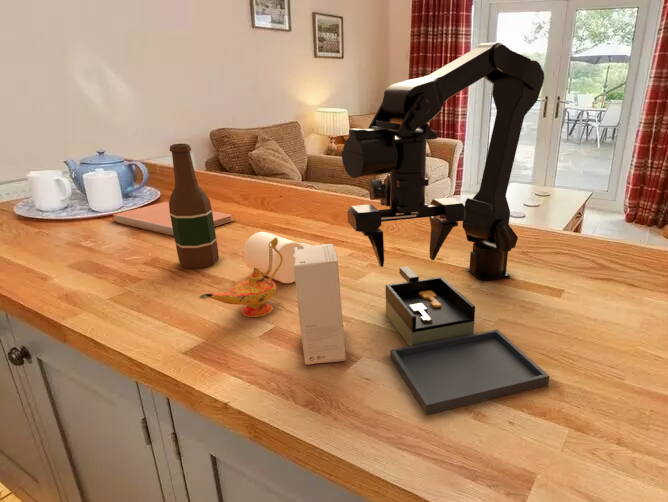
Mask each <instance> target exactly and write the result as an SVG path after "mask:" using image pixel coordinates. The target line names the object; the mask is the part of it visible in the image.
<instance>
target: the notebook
mask: <svg viewBox="0 0 668 502" xmlns="http://www.w3.org/2000/svg"><path fill="white" fill-rule="evenodd" d="M212 214H213V221H214V227H218V226H221V225H224V224H227V223H230V222H233V221H235V219H233V218H232V217H234V214H230V213H226V212H219V211H214V210H212ZM112 216H113V221H115V222H116V223H118V224H123V225H126V226H131V227H135V228H138V229H139V228H140V229H143V230H147V231H152V232H155V233H160V234H164V235H167V236H173V237H174V233H173V227H172V222H171V217H170V210H169V201H164V202H159V203H155V204H151V205H146V206H143V207H138V208H135V209H131V210H127V211H123V212H119V213H113V214H112Z"/></svg>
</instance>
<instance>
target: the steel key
mask: <svg viewBox="0 0 668 502" xmlns="http://www.w3.org/2000/svg"><path fill="white" fill-rule="evenodd" d="M409 308H410V309H411V310H412V311H413V312H414V313H419V314H420V315H421V316H422V317H420V319H421V320H422V321H423V322H427V323H428V322H432V319H431V318H430V317H429V315H428V314H427V313H426V312H425V311H427V308H426V307H425V306H424V305H423V304H422V303H418V304H412V305H409Z"/></svg>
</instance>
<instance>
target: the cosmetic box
mask: <svg viewBox="0 0 668 502" xmlns="http://www.w3.org/2000/svg"><path fill="white" fill-rule="evenodd" d="M293 257H294V274H295V282H294V283H295V292H296V293H295V295H296V301H297V303H296V304H297V311H298V321H299V330H300V337H301V344H302V351H303V359H304V365H315V364H323V363H324V364H325V363H337V362H345V361H346V359H347V355H346V343H345V334H344V319H343V309H342V308H343V307H342V297H341V282H340V272H339V259H338V255H337V251H336V248H335V245H334V244H333V243H323V244H316V245H315V244H314V245H310V246H303V247H295V248H294V255H293Z"/></svg>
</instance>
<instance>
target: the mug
mask: <svg viewBox="0 0 668 502" xmlns="http://www.w3.org/2000/svg"><path fill="white" fill-rule="evenodd" d="M276 237H277V239H278V244H277V246H276V247H275V248H276V249H277V250H278V251H279V252H280V253H281V255H282V258H283V261H282V264H281V266H280V268H279V269H278V271H277V272H276V274H275V275H274V277H273V278H272V280H275V281H278V282H279V283H283V284H291V283H292V284H293V283H295V274H294V257H293V255H294V248H295V247H303V246H311V245H310V244H308V243H303V242H297V241H294V240H292V239H291V240H290V239H287V238H285V237H283V236H279V235H276V234H274V233H270V232H267V231H257V232H255V233H253V234H252V235H251V236H250V237H249V238H248V239H247V240H246V242H245V243H244V246H243V249H242V258H243V262H244V264H245V265H246V267H248V269H250V270H251V271H254V268H255V267H258V269H259V271H261V272H263V273H265V272H267V270H268V266H269V243H270V242H271V241H272V240H273V239H274V238H276ZM270 246H271V247H272V245H271V243H270ZM270 249H272V251H270V252H272V253H273V254H272V253H271V254H272V256H273V257H272V256H270V257H272V258H273V259H272V258H270V259H272V261H271V262H272V268H269V269H271V271H269V272H270V273H269V274H268V275H267V274H266V275H267V276H266V277H268V278H270V277H271V276H272V274H273V273H274V272H275V270H276V269H277V267H278V266H279V264H280V261H281V257H280V255H279V254H278V253H277V252H276V251H275V250H274V249H273V248H270ZM269 267H270V266H269ZM261 272H260V273H261Z"/></svg>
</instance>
